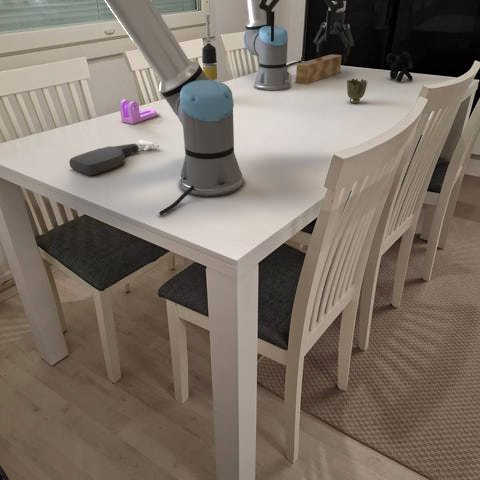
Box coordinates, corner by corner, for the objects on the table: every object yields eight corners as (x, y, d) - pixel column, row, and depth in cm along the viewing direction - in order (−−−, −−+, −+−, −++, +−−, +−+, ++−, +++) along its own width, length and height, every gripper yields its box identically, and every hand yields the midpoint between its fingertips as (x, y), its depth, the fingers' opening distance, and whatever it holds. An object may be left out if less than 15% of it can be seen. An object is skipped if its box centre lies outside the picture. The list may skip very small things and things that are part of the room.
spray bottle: (67, 168, 120) (139, 144, 136) (91, 178, 114) (163, 151, 130) (65, 157, 118) (137, 134, 134) (89, 167, 112) (162, 142, 128)
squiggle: (400, 92, 202) (376, 71, 205) (417, 76, 202) (392, 56, 205) (405, 81, 191) (380, 59, 194) (423, 64, 191) (397, 42, 194)
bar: (306, 84, 197) (307, 65, 193) (295, 82, 200) (296, 64, 196) (340, 72, 216) (341, 55, 212) (329, 71, 220) (331, 54, 215)
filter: (220, 99, 177) (217, 15, 161) (206, 100, 176) (202, 16, 160) (215, 96, 182) (212, 14, 166) (202, 97, 180) (197, 14, 164)
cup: (342, 103, 169) (344, 81, 165) (347, 99, 174) (350, 77, 170) (361, 106, 166) (364, 83, 162) (366, 101, 171) (369, 79, 167)
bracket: (132, 123, 152) (129, 103, 148) (121, 121, 155) (118, 100, 151) (160, 114, 161) (157, 95, 157) (149, 112, 164) (147, 92, 160)
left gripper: (358, -62, 103) (347, 38, 114) (250, -60, 105) (250, 38, 116) (363, -64, 97) (351, 42, 108) (248, -61, 99) (248, 43, 110)
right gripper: (365, 12, 197) (359, 63, 209) (317, 9, 211) (313, 57, 222) (358, 13, 192) (351, 65, 204) (308, 10, 206) (305, 59, 217)
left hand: (299, 40), depth 112 cm, fingers open, 13 cm apart
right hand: (331, 61), depth 213 cm, fingers open, 13 cm apart
